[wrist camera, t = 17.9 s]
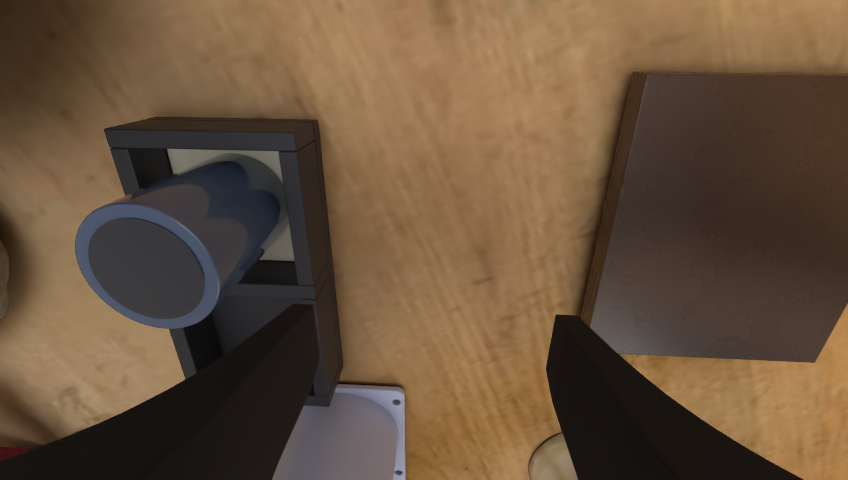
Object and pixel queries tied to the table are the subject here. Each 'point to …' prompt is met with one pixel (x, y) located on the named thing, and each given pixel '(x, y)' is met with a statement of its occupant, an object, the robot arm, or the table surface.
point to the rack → (284, 261)
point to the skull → (4, 280)
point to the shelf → (725, 218)
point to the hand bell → (552, 461)
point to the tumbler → (182, 240)
